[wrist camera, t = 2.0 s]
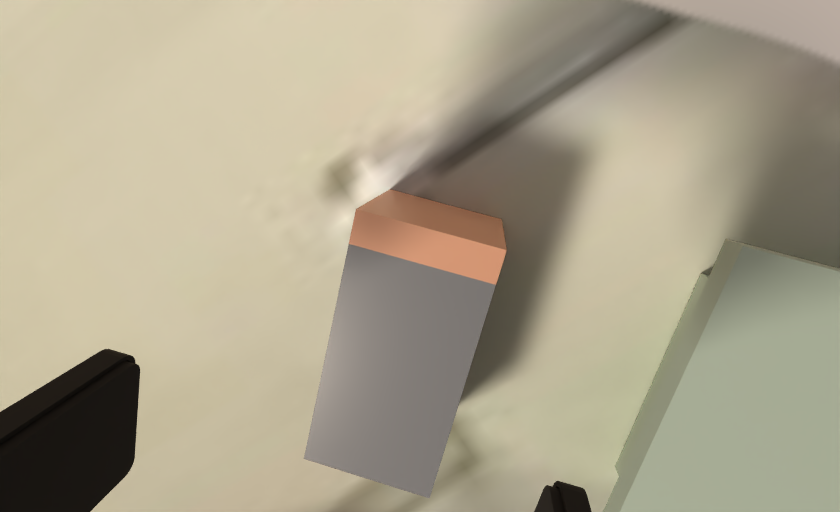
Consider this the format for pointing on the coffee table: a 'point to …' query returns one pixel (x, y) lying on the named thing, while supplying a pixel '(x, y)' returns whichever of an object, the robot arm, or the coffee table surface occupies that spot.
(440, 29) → the coffee table surface
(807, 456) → the stand
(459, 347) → the block
